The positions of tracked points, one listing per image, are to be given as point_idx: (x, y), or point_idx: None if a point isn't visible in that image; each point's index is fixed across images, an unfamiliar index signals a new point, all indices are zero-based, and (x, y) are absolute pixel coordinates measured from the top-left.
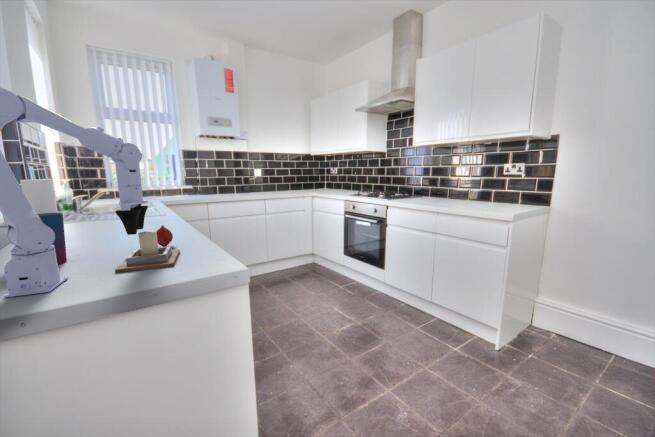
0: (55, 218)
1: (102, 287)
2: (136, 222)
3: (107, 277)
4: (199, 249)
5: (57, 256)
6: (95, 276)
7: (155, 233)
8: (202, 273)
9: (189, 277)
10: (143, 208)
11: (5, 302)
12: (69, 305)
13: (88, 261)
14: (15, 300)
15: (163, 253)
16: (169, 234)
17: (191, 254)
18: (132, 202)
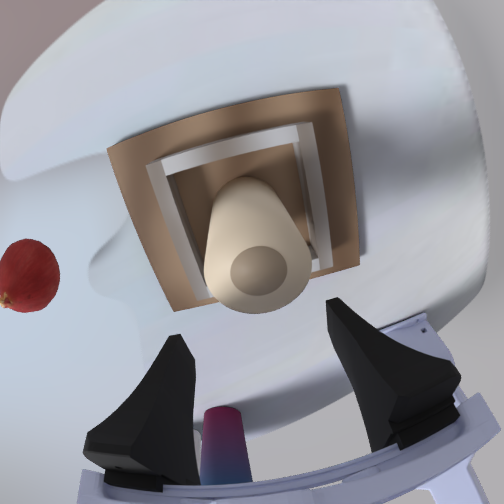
0: None
1: (443, 229)
2: (383, 333)
3: (383, 259)
4: (80, 80)
5: (235, 423)
6: (363, 293)
7: (264, 216)
8: (408, 4)
9: (433, 36)
10: (148, 449)
11: None
12: (487, 237)
13: (215, 378)
14: None
15: (293, 140)
16: (19, 252)
17: (157, 73)
18: (457, 461)
